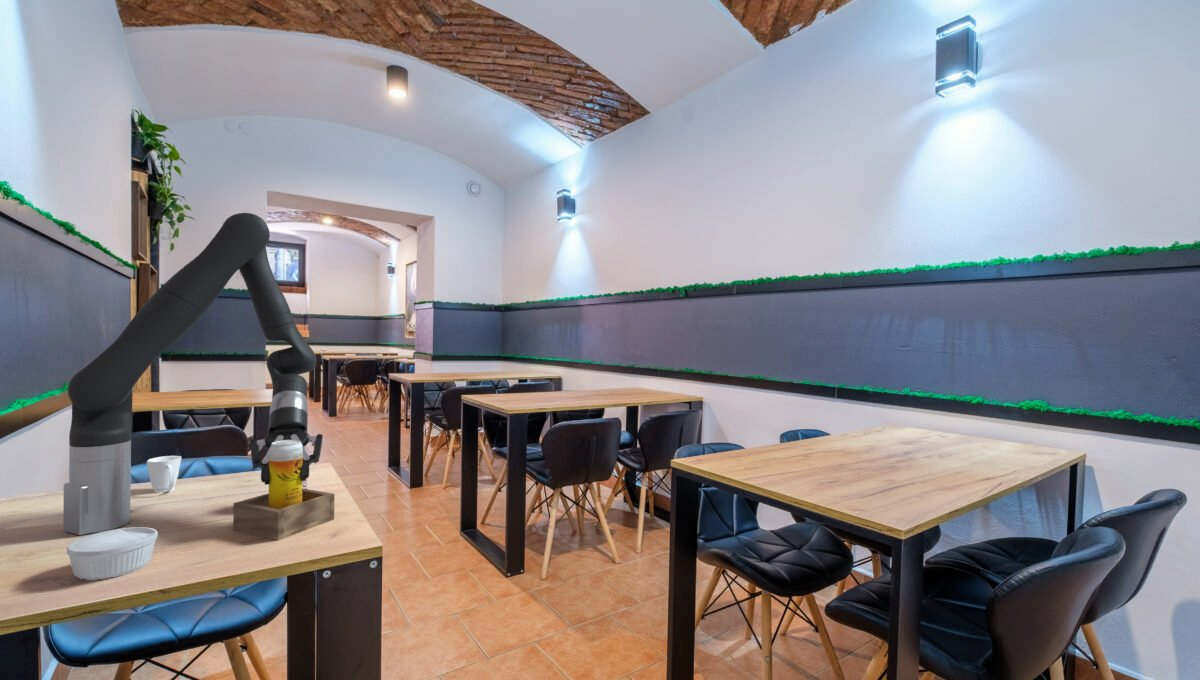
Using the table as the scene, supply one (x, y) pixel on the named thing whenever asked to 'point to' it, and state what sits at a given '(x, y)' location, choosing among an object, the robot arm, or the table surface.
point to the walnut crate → (283, 515)
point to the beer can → (285, 473)
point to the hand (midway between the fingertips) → (285, 480)
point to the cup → (164, 472)
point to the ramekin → (112, 552)
